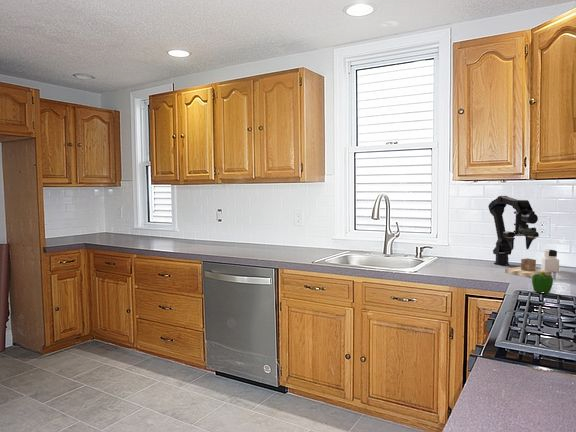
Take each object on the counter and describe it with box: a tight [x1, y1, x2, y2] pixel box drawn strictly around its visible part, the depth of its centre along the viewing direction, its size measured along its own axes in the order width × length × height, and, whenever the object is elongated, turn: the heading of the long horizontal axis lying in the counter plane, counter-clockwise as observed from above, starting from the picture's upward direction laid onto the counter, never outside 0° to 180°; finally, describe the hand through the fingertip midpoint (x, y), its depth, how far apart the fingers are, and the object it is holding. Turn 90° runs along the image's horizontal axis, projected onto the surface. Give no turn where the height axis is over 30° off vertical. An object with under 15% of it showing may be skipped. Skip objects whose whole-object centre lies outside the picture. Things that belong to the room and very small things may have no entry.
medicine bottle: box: [540, 249, 560, 273], centre depth 246 cm, size 7×7×12 cm
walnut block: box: [520, 257, 537, 271], centre depth 237 cm, size 5×5×6 cm
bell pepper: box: [531, 272, 554, 294], centre depth 197 cm, size 8×8×10 cm
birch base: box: [504, 266, 553, 279], centre depth 238 cm, size 16×16×2 cm
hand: (519, 249), depth 247 cm, fingers open, 9 cm apart
